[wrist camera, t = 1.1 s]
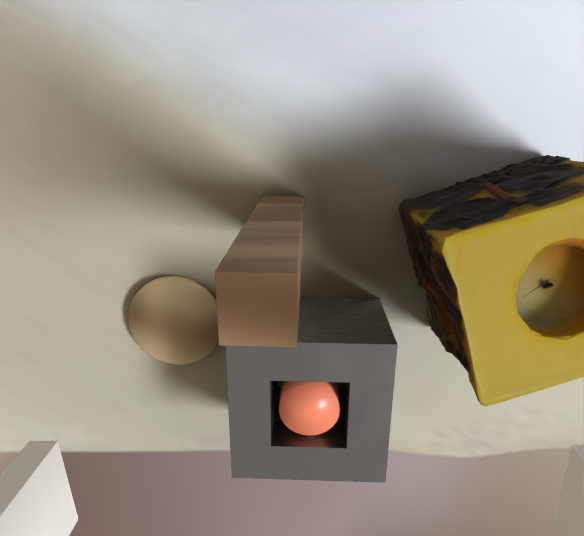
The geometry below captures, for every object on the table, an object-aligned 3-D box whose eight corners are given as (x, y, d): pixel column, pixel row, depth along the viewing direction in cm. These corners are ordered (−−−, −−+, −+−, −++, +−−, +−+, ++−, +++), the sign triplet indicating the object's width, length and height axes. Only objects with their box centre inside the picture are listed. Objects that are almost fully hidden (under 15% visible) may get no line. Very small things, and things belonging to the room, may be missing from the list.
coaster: (125, 274, 32) (122, 277, 32) (221, 276, 32) (219, 279, 32) (136, 359, 35) (133, 363, 34) (225, 361, 34) (224, 365, 34)
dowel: (262, 195, 30) (215, 272, 15) (303, 195, 30) (297, 273, 15) (263, 235, 31) (218, 345, 16) (303, 235, 31) (296, 347, 16)
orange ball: (282, 351, 31) (279, 383, 27) (337, 352, 31) (340, 384, 27) (282, 397, 32) (279, 434, 29) (335, 399, 32) (338, 436, 28)
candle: (429, 329, 33) (478, 413, 24) (393, 201, 30) (431, 239, 21) (571, 288, 32) (682, 360, 22) (546, 150, 29) (662, 165, 19)
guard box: (242, 296, 33) (225, 341, 26) (379, 298, 32) (397, 344, 26) (246, 411, 36) (231, 477, 29) (371, 414, 35) (385, 482, 29)
